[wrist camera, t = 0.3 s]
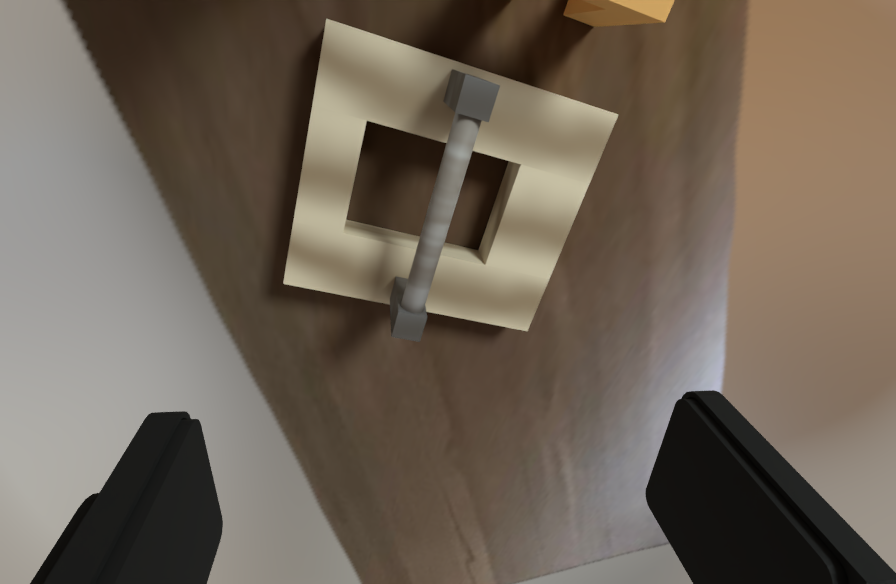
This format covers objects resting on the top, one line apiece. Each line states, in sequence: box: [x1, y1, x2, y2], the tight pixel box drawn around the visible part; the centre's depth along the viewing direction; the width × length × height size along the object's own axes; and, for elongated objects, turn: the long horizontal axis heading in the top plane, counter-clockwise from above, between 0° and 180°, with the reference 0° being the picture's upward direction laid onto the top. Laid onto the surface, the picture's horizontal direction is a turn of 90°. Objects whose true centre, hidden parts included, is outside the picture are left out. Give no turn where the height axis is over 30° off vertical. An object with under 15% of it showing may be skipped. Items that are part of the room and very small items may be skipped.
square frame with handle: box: [283, 19, 618, 342], centre depth 34 cm, size 18×20×8 cm
